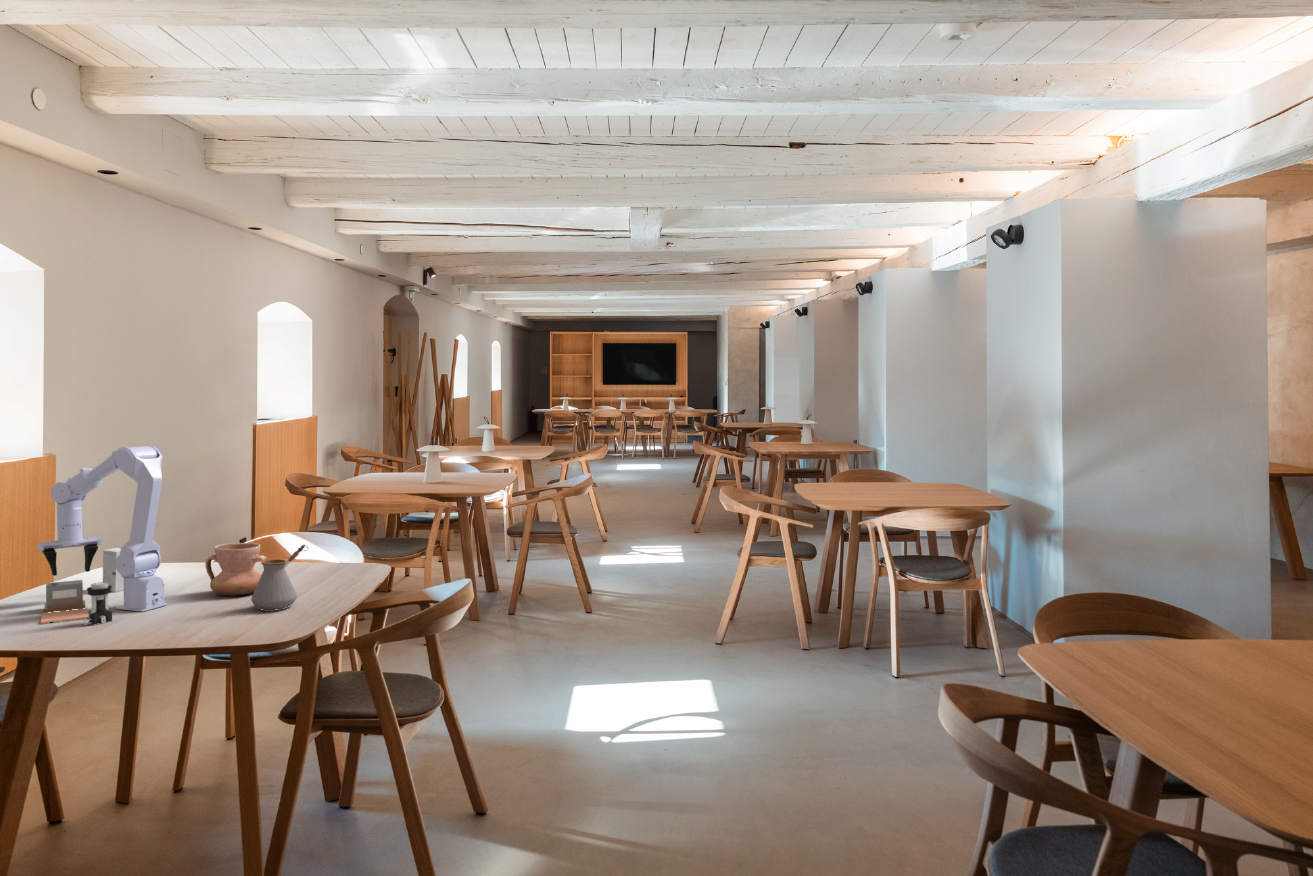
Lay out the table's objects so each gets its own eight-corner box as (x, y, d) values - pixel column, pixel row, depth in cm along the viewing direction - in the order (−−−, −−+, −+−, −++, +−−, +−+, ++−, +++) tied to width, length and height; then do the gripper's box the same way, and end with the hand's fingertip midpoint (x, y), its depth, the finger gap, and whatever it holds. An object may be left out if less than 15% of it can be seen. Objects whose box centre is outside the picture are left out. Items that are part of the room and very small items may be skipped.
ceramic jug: (278, 588, 254) (278, 541, 253) (251, 599, 239) (251, 550, 239) (221, 586, 255) (221, 540, 254) (191, 597, 241) (191, 548, 240)
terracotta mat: (88, 618, 217) (88, 616, 217) (40, 624, 211) (40, 622, 211) (87, 610, 225) (87, 608, 225) (41, 615, 219) (41, 613, 219)
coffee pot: (281, 614, 224) (281, 558, 223) (242, 612, 226) (241, 556, 225) (324, 595, 245) (323, 544, 244) (287, 594, 247) (287, 543, 246)
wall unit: (85, 608, 227) (84, 583, 226) (44, 613, 222) (43, 587, 221) (84, 604, 232) (84, 579, 231) (44, 608, 226) (44, 583, 226)
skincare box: (101, 590, 248) (101, 549, 248) (116, 587, 252) (115, 547, 252) (115, 592, 246) (114, 551, 245) (130, 589, 250) (129, 549, 250)
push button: (91, 627, 209) (90, 588, 208) (77, 625, 211) (76, 585, 210) (117, 621, 215) (116, 582, 214) (103, 619, 217) (102, 580, 216)
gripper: (96, 520, 241) (97, 567, 242) (34, 525, 231) (36, 574, 231) (103, 523, 236) (104, 570, 237) (40, 528, 226) (41, 578, 227)
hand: (71, 573), depth 234 cm, fingers open, 7 cm apart
